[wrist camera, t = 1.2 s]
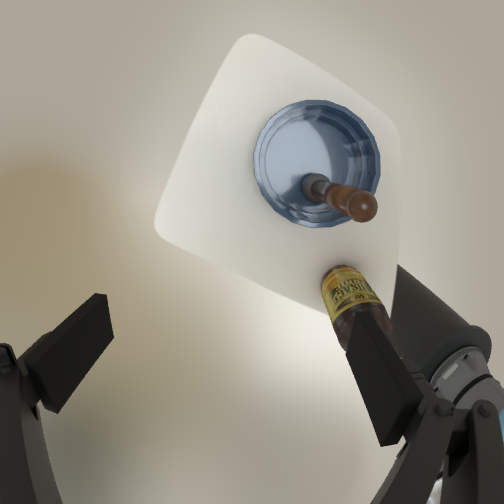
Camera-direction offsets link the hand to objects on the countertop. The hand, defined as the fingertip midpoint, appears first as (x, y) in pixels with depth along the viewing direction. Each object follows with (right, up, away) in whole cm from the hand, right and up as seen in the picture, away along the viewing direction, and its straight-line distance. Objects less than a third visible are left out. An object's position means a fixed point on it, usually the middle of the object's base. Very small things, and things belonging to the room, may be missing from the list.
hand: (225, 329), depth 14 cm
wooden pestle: (+9, +12, +21) cm, 26 cm away
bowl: (+9, +15, +21) cm, 28 cm away
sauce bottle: (+14, -1, +26) cm, 29 cm away
